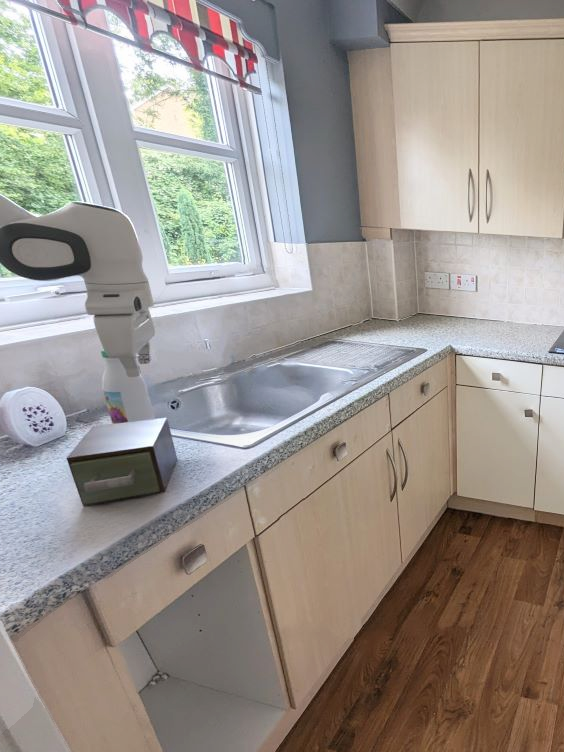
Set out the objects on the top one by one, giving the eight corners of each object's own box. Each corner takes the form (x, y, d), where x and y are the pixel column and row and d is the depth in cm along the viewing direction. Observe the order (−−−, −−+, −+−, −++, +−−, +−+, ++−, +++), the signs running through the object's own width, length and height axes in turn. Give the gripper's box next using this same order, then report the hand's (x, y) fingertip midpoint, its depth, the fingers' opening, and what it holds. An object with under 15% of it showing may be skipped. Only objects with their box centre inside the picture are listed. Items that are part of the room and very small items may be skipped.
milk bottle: (154, 420, 115) (134, 343, 108) (158, 429, 109) (138, 349, 103) (113, 427, 109) (89, 347, 103) (116, 438, 104) (91, 354, 97)
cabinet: (165, 491, 85) (153, 445, 82) (82, 506, 80) (66, 458, 76) (177, 458, 97) (167, 417, 94) (106, 469, 91) (92, 426, 88)
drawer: (154, 503, 80) (143, 464, 77) (75, 518, 75) (60, 476, 72) (171, 460, 94) (162, 425, 92) (105, 470, 90) (94, 434, 87)
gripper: (114, 290, 91) (132, 357, 96) (80, 306, 74) (104, 386, 79) (154, 290, 94) (169, 355, 99) (130, 305, 77) (149, 382, 82)
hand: (140, 369), depth 89 cm, fingers open, 8 cm apart
